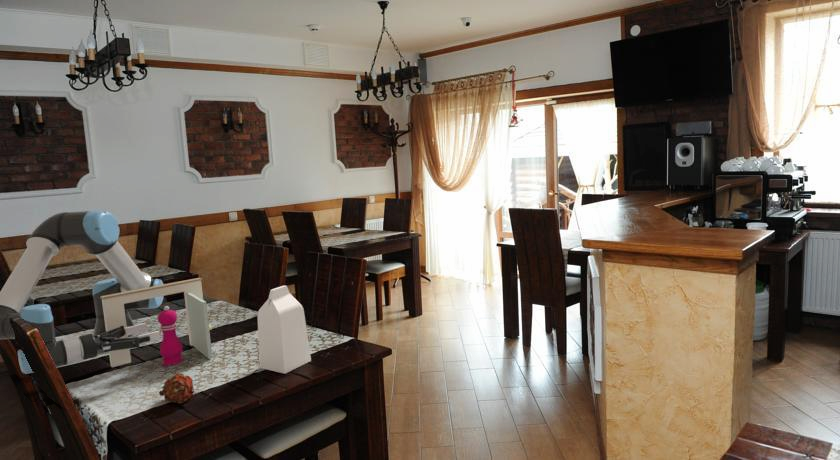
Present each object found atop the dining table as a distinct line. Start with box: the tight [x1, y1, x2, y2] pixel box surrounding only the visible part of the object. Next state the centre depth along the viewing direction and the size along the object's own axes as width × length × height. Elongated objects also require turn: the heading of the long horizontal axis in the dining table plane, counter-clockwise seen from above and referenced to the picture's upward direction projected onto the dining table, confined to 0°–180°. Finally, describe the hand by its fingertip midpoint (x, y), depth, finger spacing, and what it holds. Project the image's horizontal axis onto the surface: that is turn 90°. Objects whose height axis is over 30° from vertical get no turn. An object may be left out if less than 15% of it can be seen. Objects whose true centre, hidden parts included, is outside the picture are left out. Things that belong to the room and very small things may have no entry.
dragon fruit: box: [158, 373, 195, 404], centre depth 160 cm, size 8×8×12 cm
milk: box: [257, 285, 312, 374], centre depth 182 cm, size 12×12×26 cm
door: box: [186, 292, 213, 360], centre depth 199 cm, size 3×20×20 cm, turn 38°
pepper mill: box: [157, 305, 184, 367], centre depth 190 cm, size 7×7×20 cm
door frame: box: [100, 277, 204, 368], centre depth 200 cm, size 3×34×25 cm, turn 133°
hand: (152, 330), depth 186 cm, fingers open, 13 cm apart
